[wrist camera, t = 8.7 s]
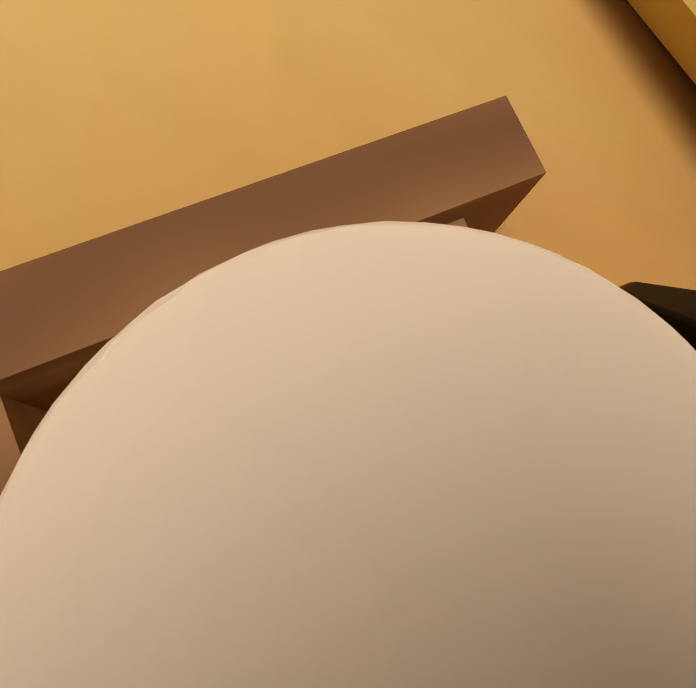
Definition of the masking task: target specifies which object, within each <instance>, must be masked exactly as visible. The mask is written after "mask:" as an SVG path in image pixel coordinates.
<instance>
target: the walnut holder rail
mask: <svg viewBox="0 0 696 688" xmlns="http://www.w3.org/2000/svg"><path fill="white" fill-rule="evenodd" d="M545 173H546V171H545V169H544V167H543V165H542V163H541V161H540V159H539V158H538V156H537V154H536V152H535V150H534V148H533V146H532V144H531V142H530V140H529V138H528V137H527V135H526V133H525V131H524V129H523V127H522V125H521V123H520V121H519V119H518V117H517V116H516V114H515V112H514V110H513V108H512V106H511V104H510V102H509V100H508V98H507V96H503V97H500V98H497V99H495V100H492V101H489V102H486V103H483V104H480V105H477V106H474V107H472V108H469V109H466V110H463V111H460V112H457V113H454V114H451V115H449V116H446V117H443V118H440V119H437V120H434V121H431V122H428V123H426V124H423V125H420V126H417V127H414V128H411V129H408V130H405V131H403V132H400V133H397V134H394V135H391V136H388V137H385V138H382V139H380V140H377V141H374V142H371V143H368V144H365V145H362V146H359V147H357V148H354V149H351V150H348V151H345V152H342V153H339V154H336V155H334V156H331V157H328V158H325V159H322V160H319V161H316V162H313V163H311V164H308V165H305V166H302V167H299V168H296V169H293V170H290V171H288V172H285V173H282V174H279V175H276V176H273V177H270V178H267V179H265V180H262V181H259V182H256V183H253V184H250V185H247V186H244V187H242V188H239V189H236V190H233V191H230V192H227V193H224V194H221V195H219V196H216V197H213V198H210V199H207V200H204V201H201V202H198V203H196V204H193V205H190V206H187V207H184V208H181V209H178V210H175V211H173V212H170V213H167V214H164V215H161V216H158V217H155V218H152V219H150V220H147V221H144V222H141V223H138V224H135V225H132V226H129V227H127V228H124V229H121V230H118V231H115V232H112V233H109V234H106V235H104V236H101V237H98V238H95V239H92V240H89V241H86V242H83V243H81V244H78V245H75V246H72V247H69V248H66V249H63V250H60V251H58V252H55V253H52V254H49V255H46V256H43V257H40V258H37V259H35V260H32V261H29V262H26V263H23V264H20V265H17V266H14V267H12V268H9V269H6V270H3V271H0V495H1V493H2V491H3V489H4V487H5V486H6V484H7V482H8V480H9V478H10V476H11V474H12V472H13V470H14V468H15V466H16V464H17V462H18V460H19V458H20V456H21V455H22V453H23V451H24V449H25V447H26V445H27V443H28V442H29V440H30V438H31V436H32V435H33V433H34V431H35V430H36V428H37V427H38V425H39V424H40V422H41V421H42V419H43V418H44V416H45V415H46V413H47V412H48V410H49V409H50V407H51V406H52V404H53V403H54V402H55V401H56V399H57V398H58V397H59V396H60V395H61V393H62V392H63V391H64V390H65V389H66V387H67V386H68V385H69V384H70V383H71V381H72V380H73V379H74V378H75V377H76V375H77V374H78V373H79V372H80V371H81V369H82V368H83V367H84V366H85V365H86V364H87V363H88V362H89V361H90V360H91V359H92V358H93V357H94V356H95V355H96V354H97V353H98V351H99V350H100V349H101V348H102V347H103V346H104V345H105V344H106V343H107V342H108V341H110V340H111V339H112V338H113V337H115V336H116V335H117V334H118V333H119V332H120V331H121V330H123V329H124V328H125V327H126V326H127V325H128V324H129V323H130V322H132V321H133V320H134V319H135V318H136V317H137V316H139V315H140V314H141V313H142V312H143V311H145V310H146V309H147V308H148V307H149V306H150V305H152V304H153V303H154V302H155V301H157V300H158V299H160V298H162V297H163V296H165V295H167V294H168V293H170V292H172V291H174V290H175V289H177V288H179V287H180V286H182V285H184V284H185V283H187V282H188V281H190V280H191V279H193V278H194V277H196V276H197V275H198V274H200V273H202V272H204V271H206V270H209V269H211V268H213V267H215V266H217V265H219V264H221V263H223V262H225V261H227V260H229V259H232V258H234V257H236V256H238V255H240V254H242V253H245V252H247V251H249V250H252V249H254V248H257V247H259V246H262V245H264V244H267V243H269V242H272V241H276V240H279V239H283V238H287V237H290V236H294V235H297V234H301V233H304V232H308V231H311V230H318V229H324V228H330V227H336V226H342V225H351V224H361V223H370V222H380V221H400V222H428V223H437V224H445V225H454V226H463V227H468V228H473V229H478V230H483V231H488V232H493V233H494V232H495V231H496V229H497V228H498V227H499V226H500V225H501V224H502V223H503V221H504V220H505V219H506V218H507V217H508V216H509V215H510V213H511V212H512V211H513V210H514V209H515V208H516V206H517V205H518V204H519V203H520V202H521V201H522V200H523V198H524V197H525V196H526V195H527V194H528V193H529V192H530V190H531V189H532V188H533V187H534V186H535V185H536V184H537V182H538V181H539V180H540V179H541V178H542V177H543V175H544V174H545Z"/></svg>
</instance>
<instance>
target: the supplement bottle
mask: <svg viewBox="0 0 696 688" xmlns="http://www.w3.org/2000/svg"><path fill="white" fill-rule="evenodd" d="M0 688H696V350H695V349H694V348H693V347H692V346H691V345H690V344H689V343H688V342H687V341H686V340H685V339H684V338H683V337H682V336H681V335H680V334H679V333H678V332H677V331H676V330H675V329H674V328H673V327H671V326H670V325H669V324H668V323H667V322H665V321H664V320H663V319H662V318H660V317H659V316H658V315H657V314H656V313H654V312H653V311H652V310H651V309H649V308H648V307H647V306H646V305H644V304H643V303H642V302H641V301H640V300H638V299H637V298H635V297H633V296H632V295H630V294H629V293H627V292H626V291H624V290H622V289H621V288H619V287H618V286H616V285H615V284H613V283H611V282H610V281H608V280H607V279H605V278H603V277H602V276H600V275H598V274H597V273H595V272H593V271H592V270H590V269H588V268H587V267H585V266H582V265H580V264H577V263H575V262H573V261H571V260H569V259H567V258H565V257H563V256H561V255H559V254H556V253H554V252H551V251H548V250H546V249H543V248H541V247H538V246H536V245H533V244H530V243H527V242H524V241H520V240H517V239H514V238H510V237H507V236H503V235H500V234H497V233H493V232H488V231H483V230H478V229H473V228H468V227H463V226H454V225H445V224H437V223H428V222H400V221H380V222H370V223H361V224H351V225H342V226H336V227H330V228H324V229H318V230H311V231H308V232H304V233H301V234H297V235H294V236H290V237H287V238H283V239H279V240H276V241H272V242H269V243H267V244H264V245H262V246H259V247H257V248H254V249H252V250H249V251H247V252H245V253H242V254H240V255H238V256H236V257H234V258H232V259H229V260H227V261H225V262H223V263H221V264H219V265H217V266H215V267H213V268H211V269H209V270H206V271H204V272H202V273H200V274H198V275H197V276H196V277H194V278H193V279H191V280H190V281H188V282H187V283H185V284H184V285H182V286H180V287H179V288H177V289H175V290H174V291H172V292H170V293H168V294H167V295H165V296H163V297H162V298H160V299H158V300H157V301H155V302H154V303H153V304H152V305H150V306H149V307H148V308H147V309H146V310H145V311H143V312H142V313H141V314H140V315H139V316H137V317H136V318H135V319H134V320H133V321H132V322H130V323H129V324H128V325H127V326H126V327H125V328H124V329H123V330H121V331H120V332H119V333H118V334H117V335H116V336H115V337H113V338H112V339H111V340H110V341H108V342H107V343H106V344H105V345H104V346H103V347H102V348H101V349H100V350H99V351H98V353H97V354H96V355H95V356H94V357H93V358H92V359H91V360H90V361H89V362H88V363H87V364H86V365H85V366H84V367H83V368H82V369H81V371H80V372H79V373H78V374H77V375H76V377H75V378H74V379H73V380H72V381H71V383H70V384H69V385H68V386H67V387H66V389H65V390H64V391H63V392H62V393H61V395H60V396H59V397H58V398H57V399H56V401H55V402H54V403H53V404H52V406H51V407H50V409H49V410H48V412H47V413H46V415H45V416H44V418H43V419H42V421H41V422H40V424H39V425H38V427H37V428H36V430H35V431H34V433H33V435H32V436H31V438H30V440H29V442H28V443H27V445H26V447H25V449H24V451H23V453H22V455H21V456H20V458H19V460H18V462H17V464H16V466H15V468H14V470H13V472H12V474H11V476H10V478H9V480H8V482H7V484H6V486H5V487H4V489H3V491H2V493H1V495H0Z"/></svg>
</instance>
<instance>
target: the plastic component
mask: <svg viewBox="0 0 696 688" xmlns="http://www.w3.org/2000/svg"><path fill="white" fill-rule="evenodd" d="M627 1H628V2H629V4H630V5H631V6H632V7H633V9H634V10H635V11H636V12H637V13H638V15H639V16H640V17H641V18H642V20H643V21H644V22H645V23H646V24H647V26H648V27H649V28H650V29H651V31H652V32H653V33H654V34H655V36H656V37H657V38H658V39H659V40H660V42H661V43H662V44H663V45H664V47H665V48H666V49H667V50H668V52H669V53H670V54H671V55H672V56H673V58H674V59H675V60H676V61H677V63H678V64H679V65H680V66H681V68H682V69H683V70H684V71H685V72H686V74H687V75H688V76H689V77H690V79H691V80H692V81H693V82H694V83H695V85H696V0H627Z"/></svg>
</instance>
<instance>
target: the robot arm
mask: <svg viewBox="0 0 696 688" xmlns="http://www.w3.org/2000/svg"><path fill="white" fill-rule="evenodd" d="M619 288H621V289H622V290H624V291H626V292H627V293H629V294H630V295H632V296H633V297H635V298H637V299H638V300H640V301H641V302H642V303H643V304H644V305H646V306H647V307H648V308H649V309H651V310H652V311H653V312H654V313H656V314H657V315H658V316H659V317H660V318H662V319H663V320H664V321H665V322H667V323H668V324H669V325H670V326H671V327H673V328H674V329H675V330H676V331H677V332H678V333H679V334H680V335H681V336H682V337H683V338H684V339H685V340H686V341H687V342H688V343H689V344H690V345H691V346H692V347H693V348H694V349H695V350H696V290H689V289H682V288H675V287H668V286H661V285H655V284H648V283H641V282H630V283H627V284H625V285H622V286H620V287H619Z"/></svg>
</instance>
